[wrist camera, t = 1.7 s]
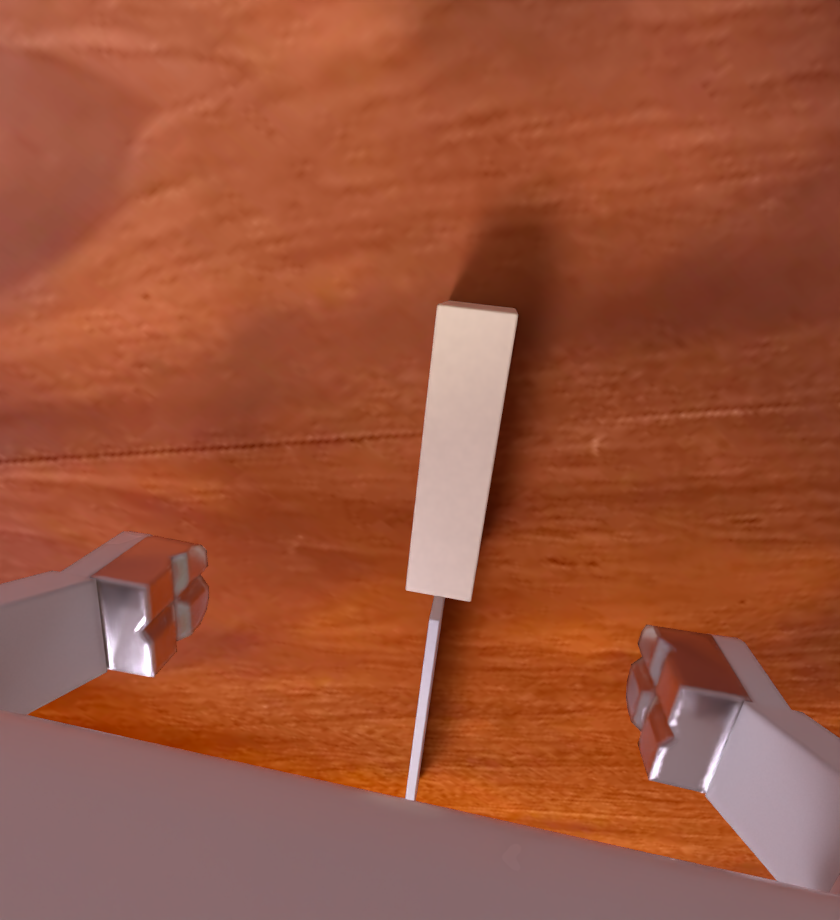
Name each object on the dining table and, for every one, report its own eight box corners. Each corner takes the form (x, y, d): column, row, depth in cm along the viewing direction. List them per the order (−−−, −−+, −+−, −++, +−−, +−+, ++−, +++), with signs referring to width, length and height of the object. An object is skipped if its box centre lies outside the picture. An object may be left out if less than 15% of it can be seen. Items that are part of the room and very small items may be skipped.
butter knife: (447, 300, 18) (436, 303, 15) (516, 308, 18) (518, 313, 15) (391, 775, 26) (377, 836, 23) (438, 786, 26) (430, 848, 23)
